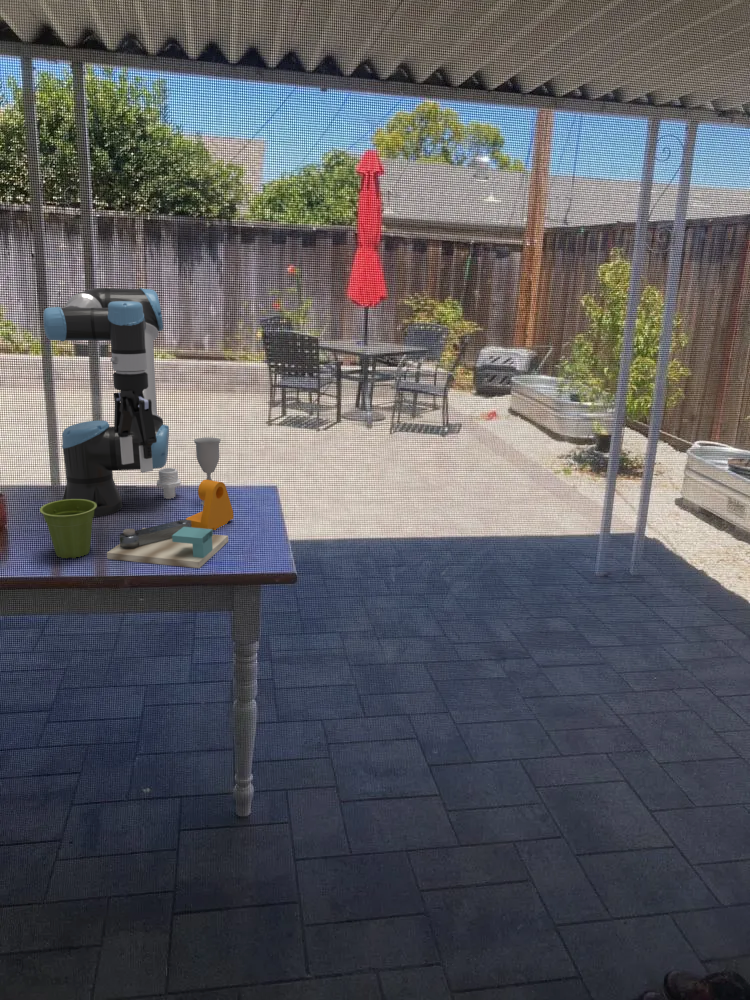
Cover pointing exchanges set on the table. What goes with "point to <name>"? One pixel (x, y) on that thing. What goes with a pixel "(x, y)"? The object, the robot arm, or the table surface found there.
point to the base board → (165, 552)
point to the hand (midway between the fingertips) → (137, 467)
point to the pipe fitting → (168, 481)
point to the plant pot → (70, 526)
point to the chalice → (207, 454)
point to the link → (152, 534)
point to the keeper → (195, 539)
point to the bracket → (212, 506)
